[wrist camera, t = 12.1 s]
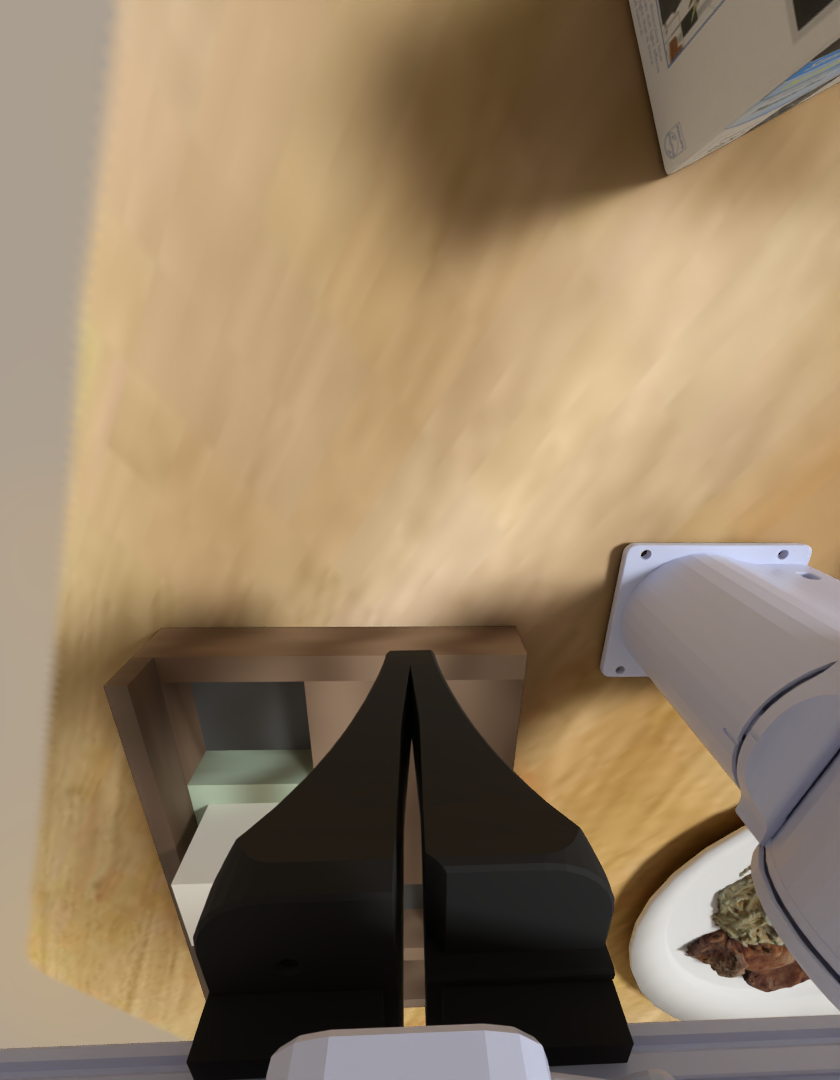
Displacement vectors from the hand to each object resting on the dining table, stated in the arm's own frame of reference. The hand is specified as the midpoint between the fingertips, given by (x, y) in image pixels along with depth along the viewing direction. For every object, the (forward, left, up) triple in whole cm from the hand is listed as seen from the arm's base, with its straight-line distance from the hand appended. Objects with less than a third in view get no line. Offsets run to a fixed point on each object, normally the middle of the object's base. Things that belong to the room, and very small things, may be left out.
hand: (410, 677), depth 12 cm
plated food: (-32, +30, -10) cm, 45 cm away
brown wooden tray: (+4, +18, -9) cm, 20 cm away
